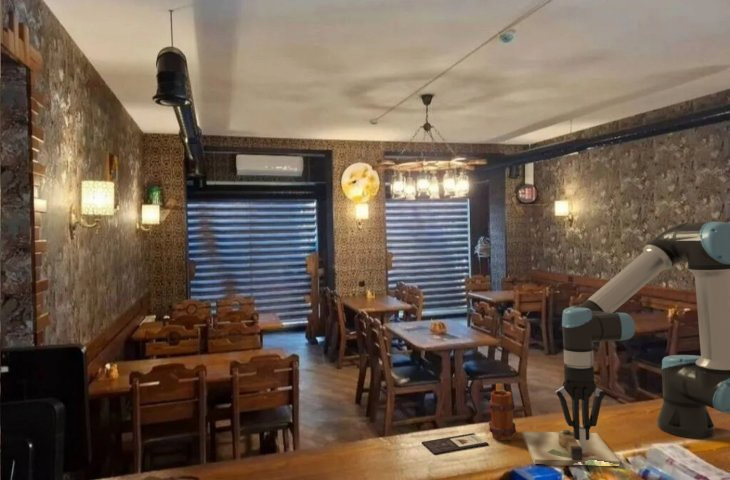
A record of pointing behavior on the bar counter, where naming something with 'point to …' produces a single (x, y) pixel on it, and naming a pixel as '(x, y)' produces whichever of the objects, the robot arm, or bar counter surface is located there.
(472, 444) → the chocolate bar
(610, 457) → the dial board
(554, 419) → the bar counter surface
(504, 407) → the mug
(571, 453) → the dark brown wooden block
